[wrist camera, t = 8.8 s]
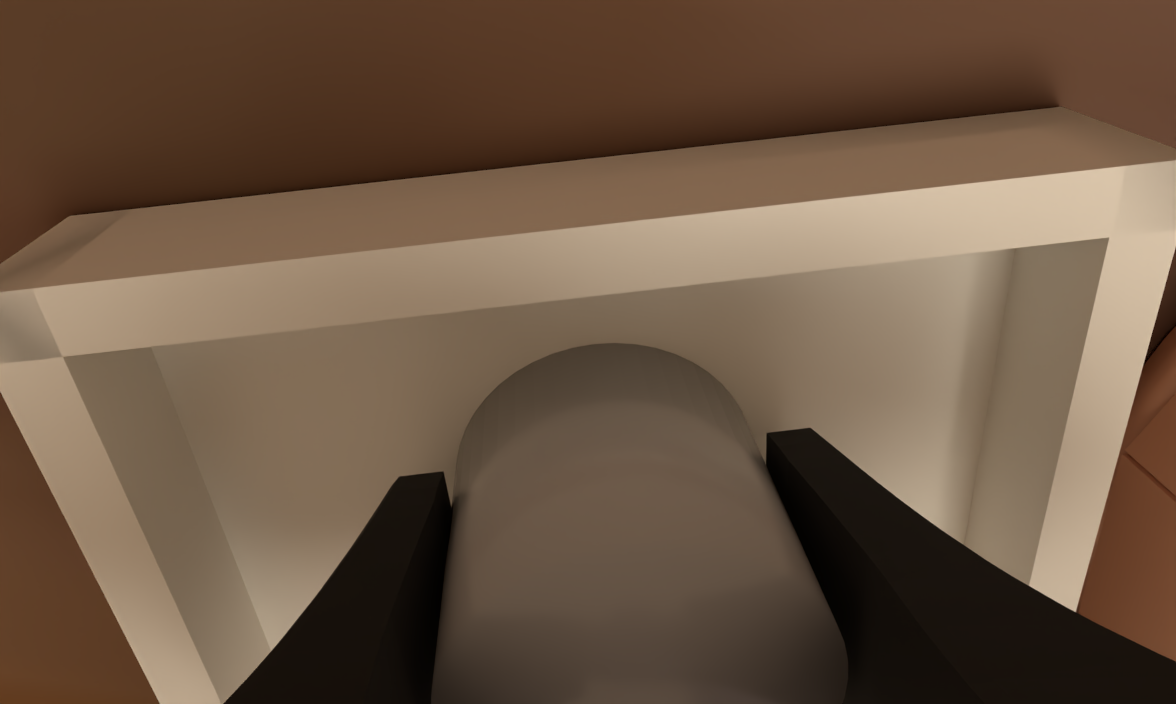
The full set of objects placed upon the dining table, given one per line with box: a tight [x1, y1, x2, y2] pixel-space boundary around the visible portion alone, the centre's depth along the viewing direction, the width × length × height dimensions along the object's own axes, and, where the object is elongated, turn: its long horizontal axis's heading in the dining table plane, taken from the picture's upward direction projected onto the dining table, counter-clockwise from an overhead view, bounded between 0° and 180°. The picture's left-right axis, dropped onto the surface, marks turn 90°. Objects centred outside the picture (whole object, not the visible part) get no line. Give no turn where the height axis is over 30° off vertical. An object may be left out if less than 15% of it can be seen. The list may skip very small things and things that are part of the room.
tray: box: [0, 107, 1176, 704], centre depth 14 cm, size 18×13×2 cm
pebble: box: [431, 343, 848, 704], centre depth 10 cm, size 4×4×4 cm
